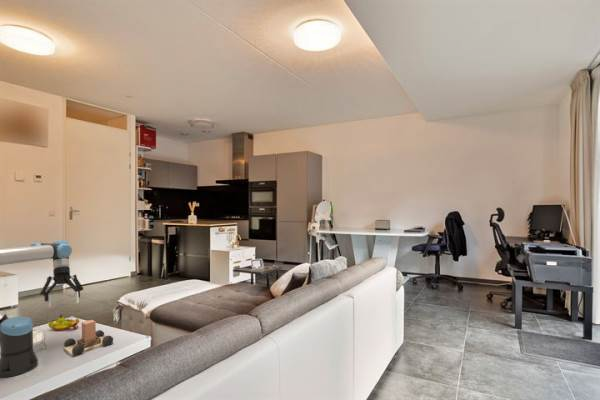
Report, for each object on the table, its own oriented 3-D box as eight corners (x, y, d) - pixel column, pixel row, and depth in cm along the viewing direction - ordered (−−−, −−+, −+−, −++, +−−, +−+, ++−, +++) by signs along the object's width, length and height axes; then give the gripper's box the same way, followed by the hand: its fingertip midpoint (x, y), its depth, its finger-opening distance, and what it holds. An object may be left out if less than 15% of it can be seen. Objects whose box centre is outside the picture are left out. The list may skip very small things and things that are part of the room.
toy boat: (73, 331, 200) (73, 315, 200) (44, 332, 200) (44, 315, 200) (80, 327, 206) (80, 311, 206) (53, 328, 207) (52, 312, 207)
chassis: (71, 357, 165) (71, 347, 165) (63, 349, 174) (62, 340, 174) (114, 343, 181) (114, 334, 181) (104, 337, 190) (103, 328, 190)
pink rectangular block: (85, 346, 174) (85, 324, 174) (81, 344, 177) (81, 322, 177) (95, 343, 178) (95, 321, 178) (92, 341, 181) (91, 319, 181)
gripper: (81, 268, 197) (84, 303, 191) (31, 270, 176) (32, 310, 170) (88, 264, 194) (91, 300, 187) (38, 266, 173) (39, 307, 166)
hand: (63, 305), depth 178 cm, fingers open, 13 cm apart
